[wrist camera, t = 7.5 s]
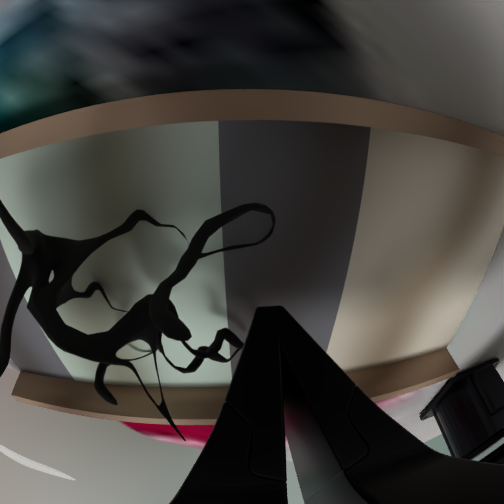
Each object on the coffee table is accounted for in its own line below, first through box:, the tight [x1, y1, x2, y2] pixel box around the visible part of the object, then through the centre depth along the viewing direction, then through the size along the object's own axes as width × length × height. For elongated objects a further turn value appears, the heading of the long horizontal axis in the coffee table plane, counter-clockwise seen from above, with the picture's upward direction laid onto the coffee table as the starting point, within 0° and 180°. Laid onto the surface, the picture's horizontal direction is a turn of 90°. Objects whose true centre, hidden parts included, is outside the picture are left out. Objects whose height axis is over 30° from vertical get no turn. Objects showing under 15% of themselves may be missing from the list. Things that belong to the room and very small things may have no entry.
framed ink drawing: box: [0, 89, 504, 425], centre depth 9 cm, size 24×12×2 cm, turn 90°
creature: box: [0, 200, 276, 441], centre depth 7 cm, size 8×5×8 cm
